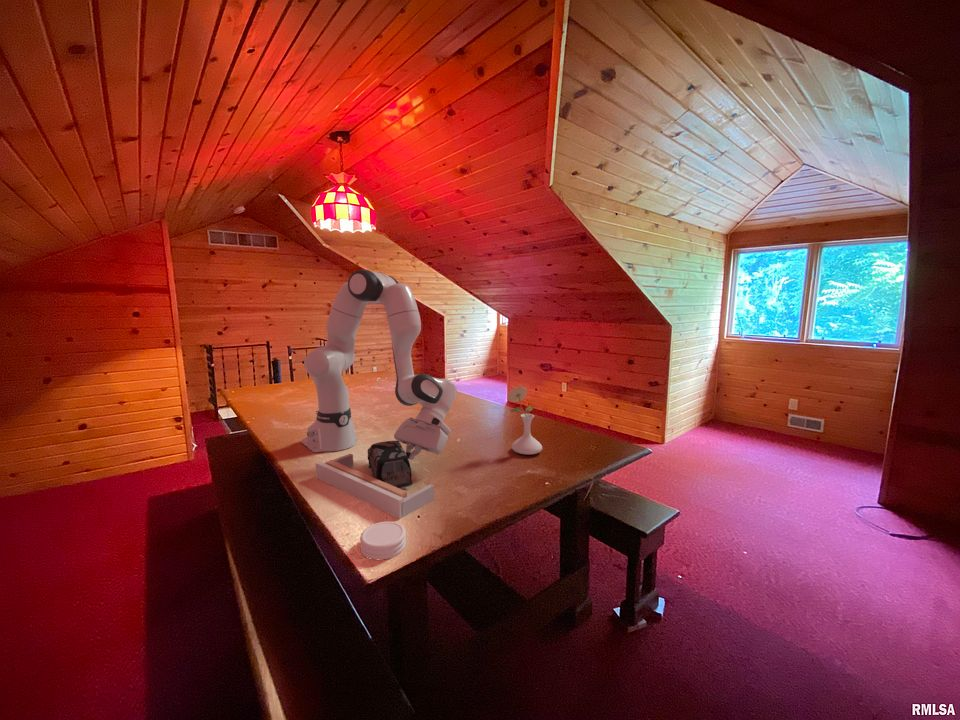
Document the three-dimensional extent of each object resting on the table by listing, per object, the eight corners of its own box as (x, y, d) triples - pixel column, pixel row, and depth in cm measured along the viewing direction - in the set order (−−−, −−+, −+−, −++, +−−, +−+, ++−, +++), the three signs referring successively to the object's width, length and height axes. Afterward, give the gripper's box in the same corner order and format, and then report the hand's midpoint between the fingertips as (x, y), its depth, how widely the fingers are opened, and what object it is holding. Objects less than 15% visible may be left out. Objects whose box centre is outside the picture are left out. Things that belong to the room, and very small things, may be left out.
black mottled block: (398, 459, 136) (397, 432, 135) (413, 490, 114) (413, 457, 112) (366, 464, 132) (365, 436, 131) (377, 497, 110) (375, 463, 108)
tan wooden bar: (326, 477, 122) (325, 462, 121) (332, 474, 124) (331, 459, 123) (401, 512, 101) (401, 494, 100) (407, 509, 103) (406, 491, 102)
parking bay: (316, 477, 121) (315, 462, 121) (350, 464, 131) (350, 450, 130) (400, 518, 98) (399, 500, 97) (434, 499, 108) (433, 482, 107)
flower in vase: (539, 445, 149) (540, 382, 145) (545, 457, 137) (546, 388, 134) (505, 446, 148) (506, 382, 145) (508, 457, 137) (509, 389, 133)
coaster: (351, 548, 87) (351, 534, 86) (388, 529, 94) (388, 515, 94) (377, 568, 80) (376, 552, 80) (415, 545, 88) (414, 531, 87)
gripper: (402, 412, 136) (381, 446, 130) (445, 422, 124) (425, 461, 118) (412, 421, 140) (392, 455, 134) (455, 432, 128) (435, 470, 122)
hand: (408, 458), depth 126 cm, fingers closed
